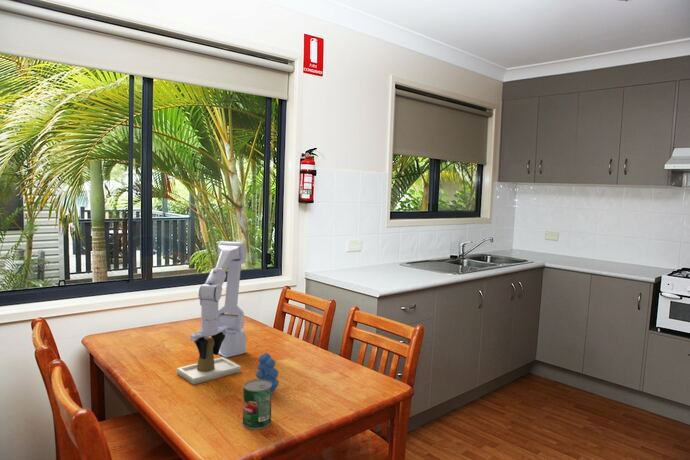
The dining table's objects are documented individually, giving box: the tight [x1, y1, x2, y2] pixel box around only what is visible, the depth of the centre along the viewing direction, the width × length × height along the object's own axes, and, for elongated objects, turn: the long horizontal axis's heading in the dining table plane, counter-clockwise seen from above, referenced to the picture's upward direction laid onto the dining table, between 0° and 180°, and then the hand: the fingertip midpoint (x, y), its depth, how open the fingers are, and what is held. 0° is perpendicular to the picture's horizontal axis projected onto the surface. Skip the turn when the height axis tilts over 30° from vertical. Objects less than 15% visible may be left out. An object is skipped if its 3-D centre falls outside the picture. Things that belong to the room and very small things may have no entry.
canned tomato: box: [242, 378, 273, 430], centre depth 137 cm, size 8×8×11 cm
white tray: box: [176, 356, 242, 386], centre depth 172 cm, size 18×12×2 cm, turn 134°
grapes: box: [255, 352, 280, 394], centre depth 159 cm, size 12×7×12 cm, turn 36°
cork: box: [197, 336, 215, 372], centre depth 173 cm, size 6×6×11 cm
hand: (209, 356), depth 172 cm, fingers closed on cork, 5 cm apart
